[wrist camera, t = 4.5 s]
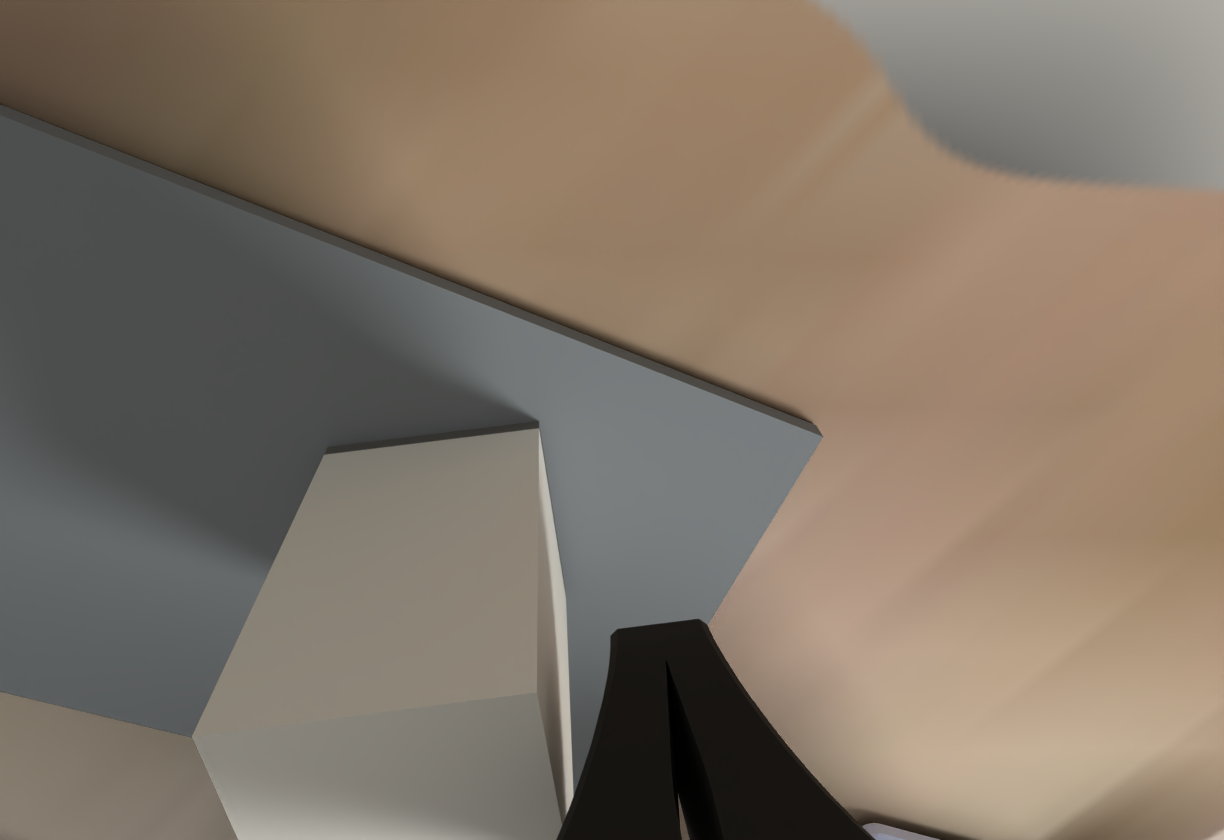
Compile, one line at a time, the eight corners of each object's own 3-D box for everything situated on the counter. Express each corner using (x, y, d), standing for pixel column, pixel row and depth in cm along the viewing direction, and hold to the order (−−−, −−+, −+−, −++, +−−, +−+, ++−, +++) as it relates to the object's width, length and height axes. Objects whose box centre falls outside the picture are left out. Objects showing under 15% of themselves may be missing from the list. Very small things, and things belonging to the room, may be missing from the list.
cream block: (539, 421, 16) (536, 692, 10) (565, 589, 18) (577, 907, 12) (328, 447, 16) (191, 736, 10) (375, 613, 18) (286, 947, 12)
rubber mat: (815, 425, 17) (822, 436, 17) (580, 813, 22) (581, 830, 21) (-59, 81, 13) (-80, 83, 13) (-121, 642, 18) (-139, 658, 17)
